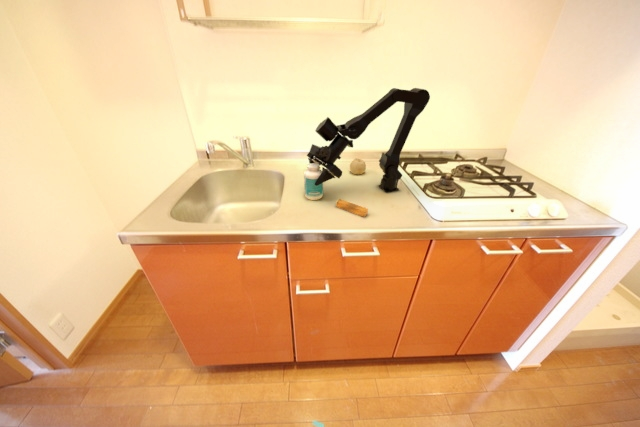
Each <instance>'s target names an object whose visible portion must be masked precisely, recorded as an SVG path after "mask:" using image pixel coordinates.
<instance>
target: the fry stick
mask: <svg viewBox="0 0 640 427" xmlns="http://www.w3.org/2000/svg"><path fill="white" fill-rule="evenodd" d="M335 207H336V208H339V209H341V210H344V211H347V212H349V213H352V214H355V215H357V216H359V217H363V218H366V216H367V215H368V212H369V208H366V207H364V206H361V205H358V204H355V203H352V202H350V201H347V200H345V199H342V198H339V199H338V200H337V201H336V203H335Z"/></svg>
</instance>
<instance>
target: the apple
mask: <svg viewBox="0 0 640 427" xmlns="http://www.w3.org/2000/svg"><path fill="white" fill-rule="evenodd" d="M366 169H367V163H366V161H364V160H363V159H361V158H354V159H353V160H351V162H350V163H349V170H350V172H351V173H352V174H354V175H362V174H363V173H365V171H366Z"/></svg>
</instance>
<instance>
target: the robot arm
mask: <svg viewBox="0 0 640 427" xmlns="http://www.w3.org/2000/svg"><path fill="white" fill-rule="evenodd" d="M430 99H431V95H430V92H429V91H428V90H427V89H424V88H419V87H413V88H412V89H410V90H408V89H401V88H396V87H393V88H391V89H390V90H389V91H388V92H387V93H386V94H385V95H384V96H382V97H381V98H380V99H379V100H377V101H376V102H375V103H374V104H372V105H371V106H370V107H369V108H367V109H366V110H365V111H364V112H362V113H361V114H358V115H356V116H354V117H352V118H350V119H349V120H347V121H346V122H345V123H343V124H337V125H336V124H335V122H333V121H332V119H331V118H330V117H329V116H327V117H326V118H325V119H323V120H322V121H321V122H320V123H319V124H318V125H317V127H316V128H315V130H314V131H315V133H316V134H318V135H319V136H320V137H321V138H322V139H323V141H325V142H330V143H329V144H328V145H324V146H322V145H321V146H319V145H317V144H314V143H312V144H311V146H310V149H309V152H307V154H306V156H307V157H308V158H307V159H308V164H310V163H317V164H319V165H320V166H322V167H320V168H319V169H320V170H321V171H322V173H321V175H320V176H319V178H318V179H317V181H316V182H315V185H316V186H318V185H319V184H321V183H323V184H324V183H325V182H328V181H330V180H332V179H336V178H337V179H340V178H341V177H342V176H343V171H342V170H341V169H340V168H339V166H337V165H336V164H335V163H336V161H337V160H340V159H341V158H342V156H341V155H342V153H343V152H344V151H345V149H346V148H347V147H348V148H354V143H353V142H354V140H357V139H359V138H360V137H361V135H363V134H364V132H365V131H366V130H367V129H368V127H369V125H371V123H373V122H374V121H375V120H376V119H377V118H379V117H380V116H382V114H384V113H385V112H386V111H388V110H389V109H390V108H392V107H393V106H394V105H395V104H397V103H398V102H399V103H404V104H403V115H402V117H401V120H400V121H399V124H398V127H397V129H396V131H395V134H394V137H393V139H392V141H391V144H390V146H389V149H388V150H387V151H386V152H382V153H381V156H380V158H379V160H378V162H379V163H378V164H379V168H380V169H381V171H382V173H383V174H382V177H381V180H380V184H379V185H378V187H379V188H380V189H381V190H382V191H384V192H385V193H391V192H398V191H400V189H399V188H398V184H399V180H401V179H402V177H403V174H402V173H401V171H400V170H399V166H400V163H401V162H400V161H401V153H402V150H403V148H404V146H405V144H406V141H407V139H408V137H409V135H410V133H411V131H412V128H413V126H414V124H415V122H416V120H417V117H419V116H420V114H421V113H423V111H424V110H425V108H426V107H427V105H428V104H429V102H430ZM321 168H322V169H321Z"/></svg>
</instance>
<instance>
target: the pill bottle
mask: <svg viewBox="0 0 640 427" xmlns="http://www.w3.org/2000/svg"><path fill="white" fill-rule="evenodd" d="M320 166H321V165H319V164H317V163H308V164H307V167H306V168H307V169H306V170H304V173H303V180H304V196H305V198H306V199H308V200H311V201H316V200H317V201H318V200H320V199H321V198H323V196H324V182H323V183H321V184H319V185H318V186H316V185H315V182H316V181H317V179H318V178H319V176H320V175H321V173H322V169H321V167H320ZM319 168H320V169H319Z"/></svg>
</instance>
